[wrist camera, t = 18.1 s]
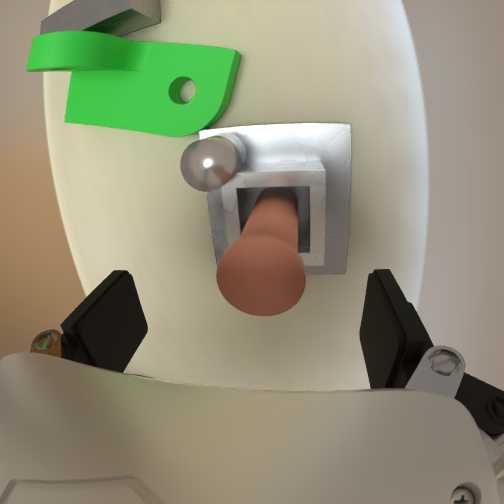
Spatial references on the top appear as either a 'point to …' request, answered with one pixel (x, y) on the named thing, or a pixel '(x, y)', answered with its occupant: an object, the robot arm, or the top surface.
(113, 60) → the mechanical part
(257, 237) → the peach peg
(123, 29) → the block
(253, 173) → the metal square socket base
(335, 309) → the top surface
